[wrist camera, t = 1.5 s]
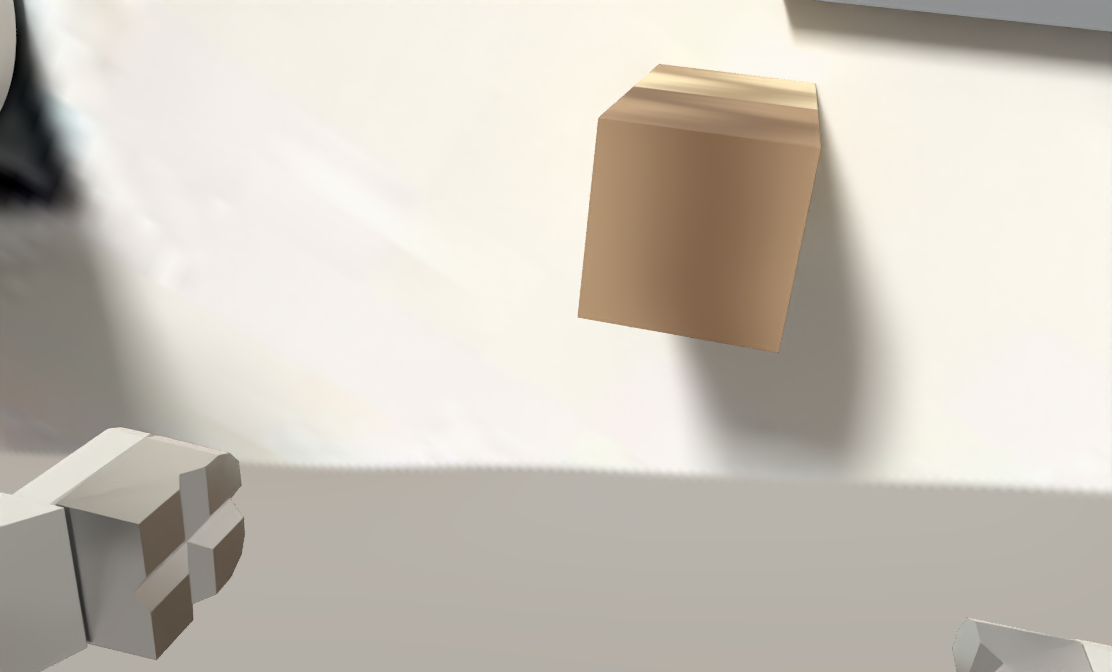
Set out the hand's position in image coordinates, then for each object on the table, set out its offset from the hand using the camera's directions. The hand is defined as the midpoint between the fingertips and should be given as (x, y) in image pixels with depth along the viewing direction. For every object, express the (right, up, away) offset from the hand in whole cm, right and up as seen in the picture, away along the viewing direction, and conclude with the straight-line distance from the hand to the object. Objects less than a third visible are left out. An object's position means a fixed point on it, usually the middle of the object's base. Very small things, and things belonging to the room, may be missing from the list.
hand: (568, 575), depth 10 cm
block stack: (+5, +9, +20) cm, 23 cm away
